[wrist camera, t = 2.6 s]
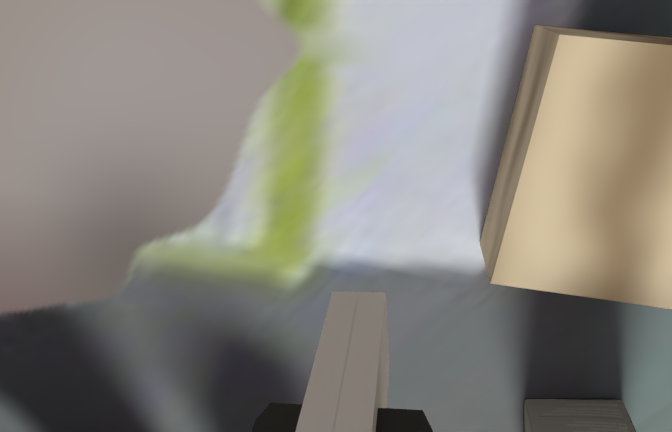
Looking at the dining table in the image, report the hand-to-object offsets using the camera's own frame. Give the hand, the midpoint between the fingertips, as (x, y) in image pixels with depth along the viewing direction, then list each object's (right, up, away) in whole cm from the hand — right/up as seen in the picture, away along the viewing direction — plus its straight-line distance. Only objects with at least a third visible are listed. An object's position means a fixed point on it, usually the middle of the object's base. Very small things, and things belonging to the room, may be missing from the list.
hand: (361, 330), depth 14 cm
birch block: (+13, +7, +11) cm, 18 cm away
